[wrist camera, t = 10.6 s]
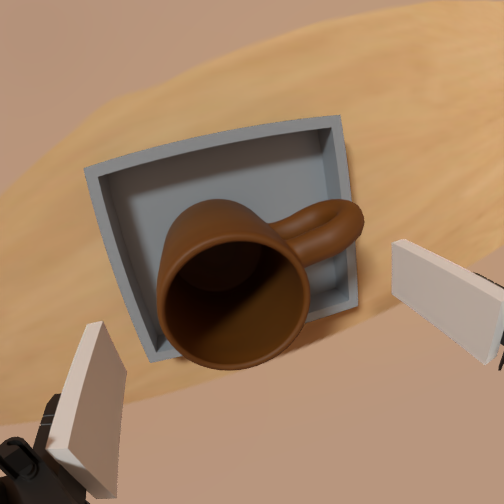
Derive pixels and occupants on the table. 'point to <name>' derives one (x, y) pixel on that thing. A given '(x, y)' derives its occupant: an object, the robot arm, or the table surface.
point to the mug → (244, 278)
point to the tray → (220, 187)
